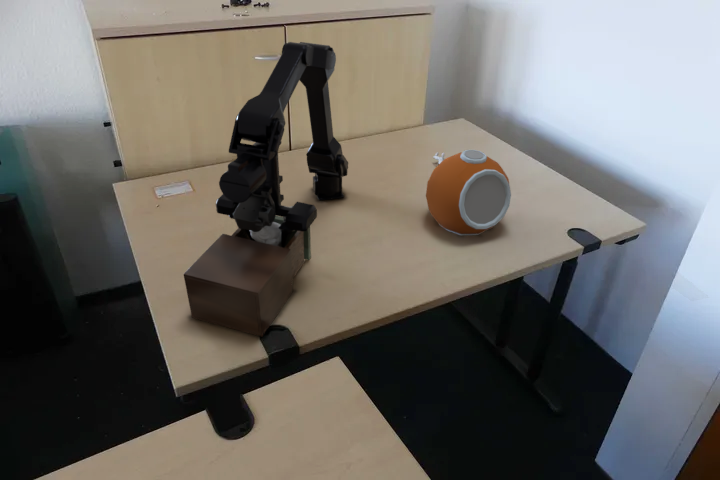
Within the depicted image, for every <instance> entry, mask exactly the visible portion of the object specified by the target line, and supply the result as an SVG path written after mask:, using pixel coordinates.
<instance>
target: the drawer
mask: <svg viewBox="0 0 720 480" xmlns="http://www.w3.org/2000/svg"><path fill="white" fill-rule="evenodd" d="M273 222H275V223H278V224H280V225H281V224H282V223H283V222H284V220H283V217H281V216H277V215H276V216H275V219H274V221H273ZM231 236H235V237H240V238H244V239H248V240H251V239H250V238H249V236H248V234H247V232H246V231H245V229H240V228H238V227H237V229H236V230H235V231H234V232H233V233H232V234H231ZM311 242H312V241H311V226H310V227H309V228H308V230H307V231H303V232H302V231H297V230H294V231H292V234H291V236H290V239H289V241H288V244H287V245H286V246H285V248H288V249H291V262H292V280H293V279H294V278H295V276H296V275H297V274H298V272H299V270H300V269H301V267H302V266H303V265H304V264H305V260H307V261H309V260H310V258H312V251H311V250H312V247H311V246H312V245H311ZM280 247H282V246H280Z"/></svg>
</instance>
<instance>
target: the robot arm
mask: <svg viewBox="0 0 720 480" xmlns="http://www.w3.org/2000/svg"><path fill="white" fill-rule="evenodd" d="M336 61H337V55H336V52H335V51H334V49H333V47H331V46H330V45H328V44H322V43H321V44H320V43H312V42H304V41H300V42H293V41H288V42H285V43H283V46H282V49H281V55H280V57H279V58H278V61H277V62H276V64H275V66H274V67H273V70H272V72H271V73H270V75H269V77H268V78H267V81H266V83H265V84H264V86H263V87H262V89H261V91H260V92H259V94H257V95H256V96H253V97H251V98H250V99H248V100H247V101H246V102H245V103H244V104H243V106H242V107H241V109H240V110H239V111H238V113H237V115H236V117H235V121H234V125H233V129H232V133H231V138H230V142H229V147H228V153H229V154H233V155H236V158H235V159H234V160H232V161H230V162H229V163H227V170H226V171H225V172H224V173H222V174H221V176H220V178H219V181H218V186H219V189H220V191H221V195H220V196H219V197H218V198H217V199H216V202H215V211H216V213H217V214H220V215H223V216H228V217H229V218H230V219H231V220H234V221H235V224H236V227H237V229H238V228H240V229H245V231H246V232H247V234H248V236H249V238H250V239H251V240H253V241H255V240H254V239H253V238H252V236H251V232H250V230H251V231H253V232H259V231H260V230H261V229H262V228H264V226H271V225H272V223H273V221H274V219H275V216H280V217H283V220H284V222H283V223H282V224H281V225H280V226H279V229H280V230H281V246H282V247H283V248H285V246H286V245H287V244H288V241H289V239H290V236H291V234H292V231H294V230H297V231H302V232H303V231H307V230H308V228H309V227H310V228H311V225H312V224H313V223H314V221H315V220H316V219H317V218H318V210H317V207H316V206H315V205H314V204H310V203H306V202H303V201H302V202H301V201H296V202H295V203H294V204H293V205H289V206H286V205H283V204H282V203H283V201H284V199H285V195H284V194H281V183H283V180H284V178H283V175H280V163H279V149H280V146H281V145H282V139H283V136H284V132H285V126H286V118H285V114H284V113H285V110H286V108H287V105H288V103H289V102H290V100H291V98H292V96H293V93H294V92H295V89H296V88H297V86H298V83H299V82H300V83H301V84H302V85H303V86H304V87H305V95H306V102H307V108H308V115H309V124H310V130H311V136H312V137H311V138H312V143H311V145H310V147H309V148H308V150H307V152H306V155H305V156H306V165H307V169H308V172H309V173H310V174H314V175H313V176H312V191H313V193H314V195H315V197H316V199H317V200H318V201H319V202H323V201H330V200H337V199H338V200H339V199H344V197H345V196H344V193H343V178H344V177H347V176H348V170H349V161H348V159H347V158H346V157H345V155H344V154H343V147H342V144H341V143H340V142H339V141H338V140H337V139H336V137H335V136H334V129H333V128H334V127H333V120H332V109H331V100H330V99H331V98H330V88H329V80H330V79H331V77H332V75H333V73H334V72H335V66H336V63H337V62H336ZM242 141H246V142H252V144H249V143H244V142H242Z"/></svg>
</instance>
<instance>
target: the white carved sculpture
mask: <svg viewBox="0 0 720 480" xmlns="http://www.w3.org/2000/svg"><path fill="white" fill-rule="evenodd" d="M279 226H280V224H278V223H275V222H273V223H272V225H271V226H264V228H262V229H261V230H260V231H259V232H253V231H251V230H250V232H251V236H252V238H253V239H254V240H255V241H257V242H261V243H266V244H270V245H275V246H279V247H280V246H281V230H280V229H279Z"/></svg>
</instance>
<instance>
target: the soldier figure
mask: <svg viewBox="0 0 720 480" xmlns="http://www.w3.org/2000/svg"><path fill="white" fill-rule="evenodd" d="M439 154H440V153H439V152H438V151H437V152H435V154H434V155H433V156H432V159H435V160H436V161H437V163H438V165H439V164H440V163H441V162H442V161H443V160H444V159H445V152H441V156H439Z"/></svg>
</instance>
